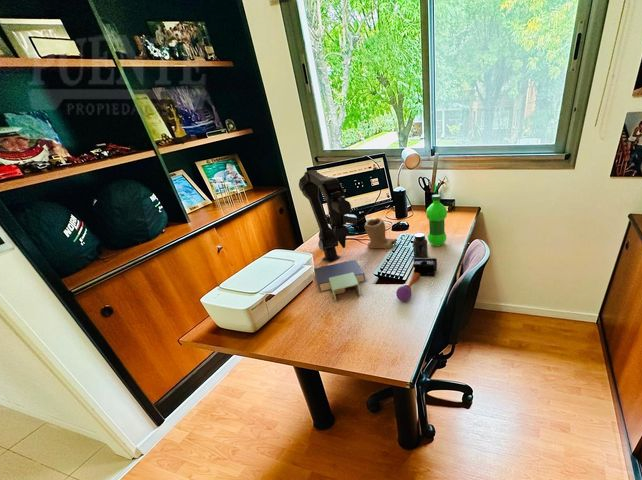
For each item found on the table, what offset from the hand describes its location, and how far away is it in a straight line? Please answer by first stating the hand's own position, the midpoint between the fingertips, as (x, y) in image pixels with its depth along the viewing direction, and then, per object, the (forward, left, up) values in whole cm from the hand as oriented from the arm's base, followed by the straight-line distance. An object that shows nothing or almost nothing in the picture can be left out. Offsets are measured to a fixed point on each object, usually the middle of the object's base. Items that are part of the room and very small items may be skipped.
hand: (342, 244), depth 148 cm
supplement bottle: (+23, +28, -13) cm, 39 cm away
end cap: (+34, +17, -13) cm, 40 cm away
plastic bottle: (+20, +46, -13) cm, 52 cm away
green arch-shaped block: (+11, -12, -10) cm, 19 cm away
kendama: (+38, +1, -13) cm, 40 cm away
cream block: (+13, -16, -11) cm, 23 cm away
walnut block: (+15, -12, -11) cm, 22 cm away
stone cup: (-4, +28, -13) cm, 31 cm away
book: (+4, -8, -13) cm, 16 cm away
